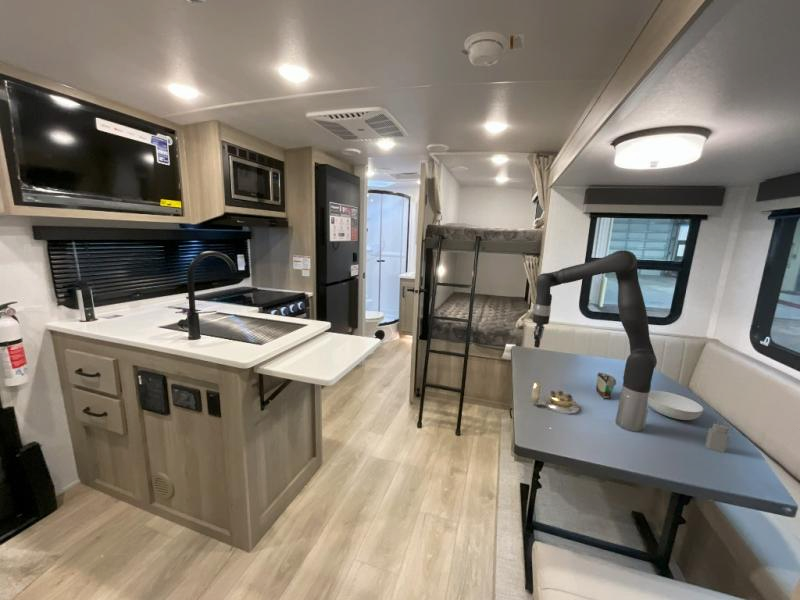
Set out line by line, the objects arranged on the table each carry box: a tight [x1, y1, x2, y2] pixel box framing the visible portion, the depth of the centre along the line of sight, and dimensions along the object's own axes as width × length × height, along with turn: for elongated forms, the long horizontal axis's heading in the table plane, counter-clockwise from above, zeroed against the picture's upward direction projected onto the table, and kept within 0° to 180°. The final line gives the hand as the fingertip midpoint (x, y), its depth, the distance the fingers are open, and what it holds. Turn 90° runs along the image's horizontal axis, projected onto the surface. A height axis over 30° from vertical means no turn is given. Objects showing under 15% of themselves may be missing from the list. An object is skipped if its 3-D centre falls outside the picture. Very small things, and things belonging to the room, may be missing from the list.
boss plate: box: [541, 393, 580, 415], centre depth 153 cm, size 16×16×2 cm
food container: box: [595, 372, 617, 400], centre depth 166 cm, size 12×6×10 cm, turn 168°
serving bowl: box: [647, 390, 704, 421], centre depth 151 cm, size 21×21×7 cm
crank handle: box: [530, 381, 574, 407], centre depth 151 cm, size 20×10×9 cm, turn 97°
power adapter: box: [704, 419, 731, 453], centre depth 125 cm, size 3×5×12 cm, turn 60°
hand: (536, 346), depth 164 cm, fingers closed
